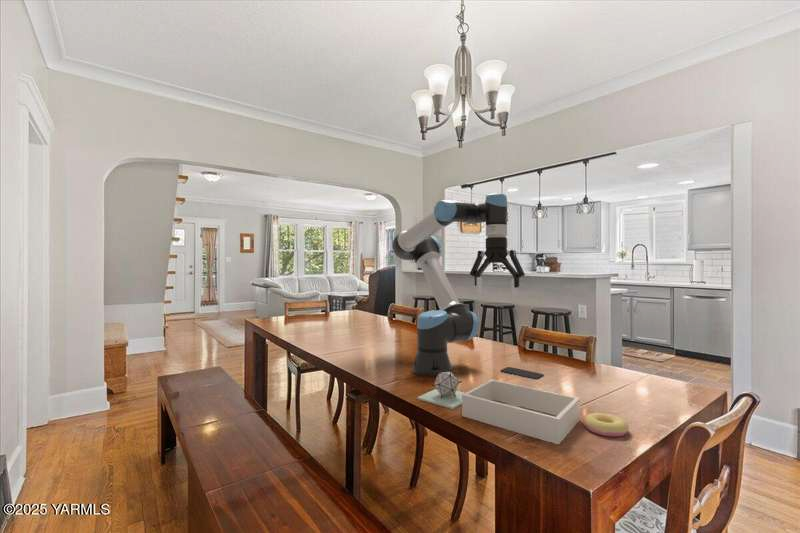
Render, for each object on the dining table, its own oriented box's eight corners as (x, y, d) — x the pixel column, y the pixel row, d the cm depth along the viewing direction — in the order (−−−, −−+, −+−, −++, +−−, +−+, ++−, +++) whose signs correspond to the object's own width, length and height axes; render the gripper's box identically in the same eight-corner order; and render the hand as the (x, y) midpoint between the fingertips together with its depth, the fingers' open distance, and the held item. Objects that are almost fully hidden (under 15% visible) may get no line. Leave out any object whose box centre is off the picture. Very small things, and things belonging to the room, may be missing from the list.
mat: (417, 399, 119) (417, 397, 119) (440, 388, 129) (440, 386, 129) (453, 409, 110) (453, 407, 110) (474, 397, 120) (474, 395, 120)
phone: (536, 378, 138) (499, 370, 148) (536, 381, 138) (499, 372, 148) (544, 374, 144) (508, 366, 154) (544, 376, 144) (508, 368, 154)
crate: (462, 416, 106) (462, 394, 106) (491, 398, 120) (491, 379, 119) (558, 444, 89) (558, 419, 89) (579, 420, 103) (579, 398, 103)
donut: (581, 430, 102) (594, 441, 93) (577, 413, 103) (590, 422, 93) (620, 426, 101) (637, 437, 92) (616, 408, 101) (632, 417, 92)
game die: (451, 409, 118) (460, 390, 112) (426, 398, 120) (434, 378, 114) (457, 388, 125) (466, 368, 120) (433, 377, 127) (441, 358, 121)
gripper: (460, 238, 142) (460, 294, 143) (526, 234, 126) (525, 298, 127) (470, 238, 148) (470, 293, 148) (534, 236, 132) (534, 296, 132)
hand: (496, 295), depth 137 cm, fingers open, 13 cm apart
